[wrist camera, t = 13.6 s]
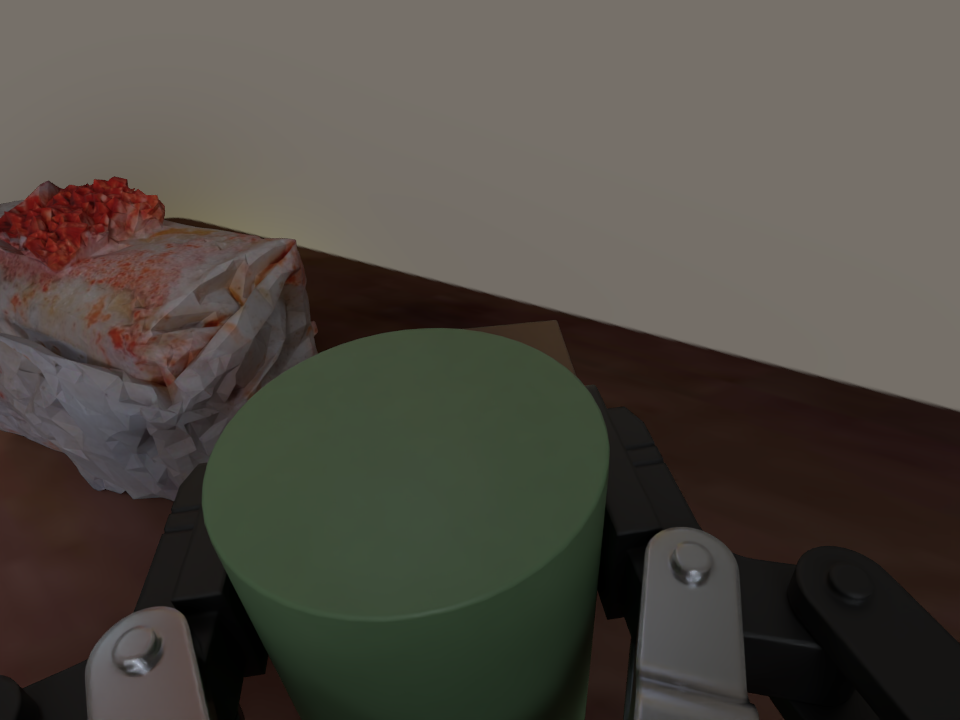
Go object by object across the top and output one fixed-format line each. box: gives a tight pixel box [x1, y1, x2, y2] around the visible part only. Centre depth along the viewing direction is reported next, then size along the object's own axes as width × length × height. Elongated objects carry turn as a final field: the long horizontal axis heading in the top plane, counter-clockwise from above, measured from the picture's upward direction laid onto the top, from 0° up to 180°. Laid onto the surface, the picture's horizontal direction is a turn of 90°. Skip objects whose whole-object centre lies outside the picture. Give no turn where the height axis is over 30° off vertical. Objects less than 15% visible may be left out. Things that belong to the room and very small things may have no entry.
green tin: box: [202, 328, 610, 720], centre depth 11 cm, size 6×6×8 cm
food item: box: [0, 177, 318, 501], centre depth 20 cm, size 14×8×10 cm, turn 67°
